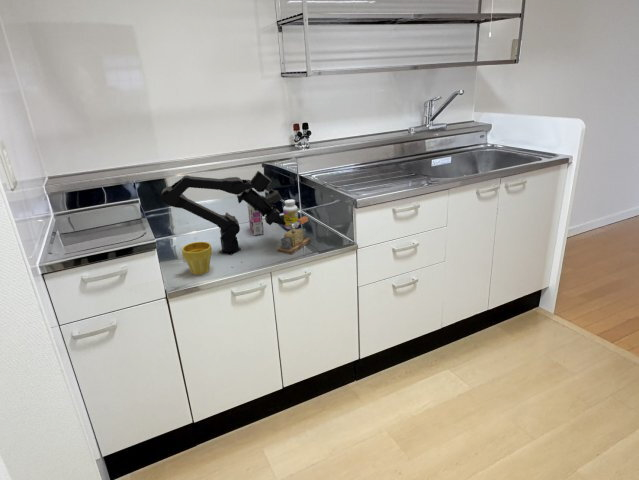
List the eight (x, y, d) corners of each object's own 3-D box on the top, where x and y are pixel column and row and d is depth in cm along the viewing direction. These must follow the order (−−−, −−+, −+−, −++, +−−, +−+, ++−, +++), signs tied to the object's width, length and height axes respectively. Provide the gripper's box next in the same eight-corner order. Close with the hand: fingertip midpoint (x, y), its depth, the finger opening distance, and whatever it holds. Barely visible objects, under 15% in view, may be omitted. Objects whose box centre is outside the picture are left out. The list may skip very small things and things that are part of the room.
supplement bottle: (281, 228, 191) (279, 202, 186) (289, 224, 196) (287, 198, 192) (294, 230, 188) (292, 203, 183) (301, 225, 194) (299, 199, 189)
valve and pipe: (289, 250, 163) (288, 234, 161) (279, 248, 165) (278, 232, 163) (307, 238, 174) (306, 223, 172) (298, 236, 177) (297, 221, 174)
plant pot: (218, 272, 151) (214, 247, 147) (190, 279, 146) (185, 254, 143) (210, 262, 159) (206, 239, 156) (183, 269, 155) (178, 245, 151)
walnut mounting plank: (291, 254, 163) (291, 251, 162) (277, 251, 166) (276, 248, 166) (310, 241, 175) (310, 238, 174) (297, 238, 178) (296, 235, 177)
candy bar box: (264, 234, 185) (260, 199, 179) (253, 236, 184) (249, 201, 177) (260, 226, 195) (256, 193, 189) (249, 228, 194) (245, 194, 187)
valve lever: (293, 229, 166) (293, 224, 165) (288, 228, 167) (288, 224, 166) (308, 220, 174) (308, 216, 174) (303, 219, 176) (303, 215, 175)
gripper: (272, 191, 155) (302, 215, 162) (265, 180, 172) (292, 202, 179) (253, 213, 156) (284, 236, 163) (248, 200, 173) (276, 221, 180)
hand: (284, 223), depth 171 cm, fingers closed
